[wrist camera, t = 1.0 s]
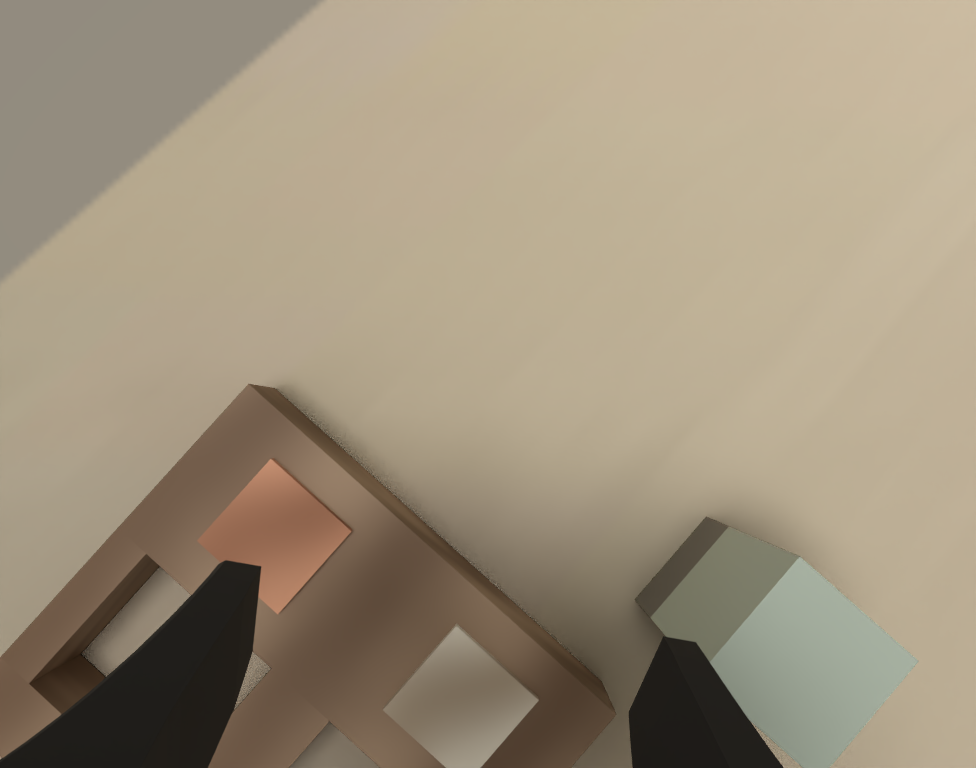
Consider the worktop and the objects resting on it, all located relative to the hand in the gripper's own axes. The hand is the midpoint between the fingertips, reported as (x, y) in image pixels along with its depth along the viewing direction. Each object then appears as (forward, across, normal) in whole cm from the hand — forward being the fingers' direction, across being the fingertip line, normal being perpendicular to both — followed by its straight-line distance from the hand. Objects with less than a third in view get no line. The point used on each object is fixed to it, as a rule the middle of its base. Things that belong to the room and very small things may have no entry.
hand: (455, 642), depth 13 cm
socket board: (+9, +3, +13) cm, 16 cm away
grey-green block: (+11, -10, +7) cm, 17 cm away
